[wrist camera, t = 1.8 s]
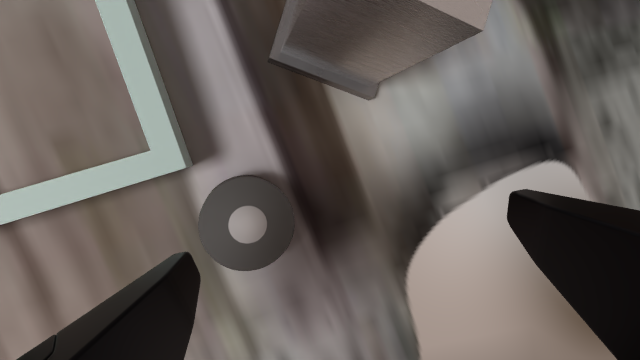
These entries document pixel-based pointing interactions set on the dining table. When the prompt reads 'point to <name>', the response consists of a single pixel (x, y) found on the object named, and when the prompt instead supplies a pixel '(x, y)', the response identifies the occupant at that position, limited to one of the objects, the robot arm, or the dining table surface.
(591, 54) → the dining table surface
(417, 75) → the dining table surface
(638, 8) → the dining table surface
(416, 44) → the gray rectangular block
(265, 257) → the loose wheel
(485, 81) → the dining table surface
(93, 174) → the frame
